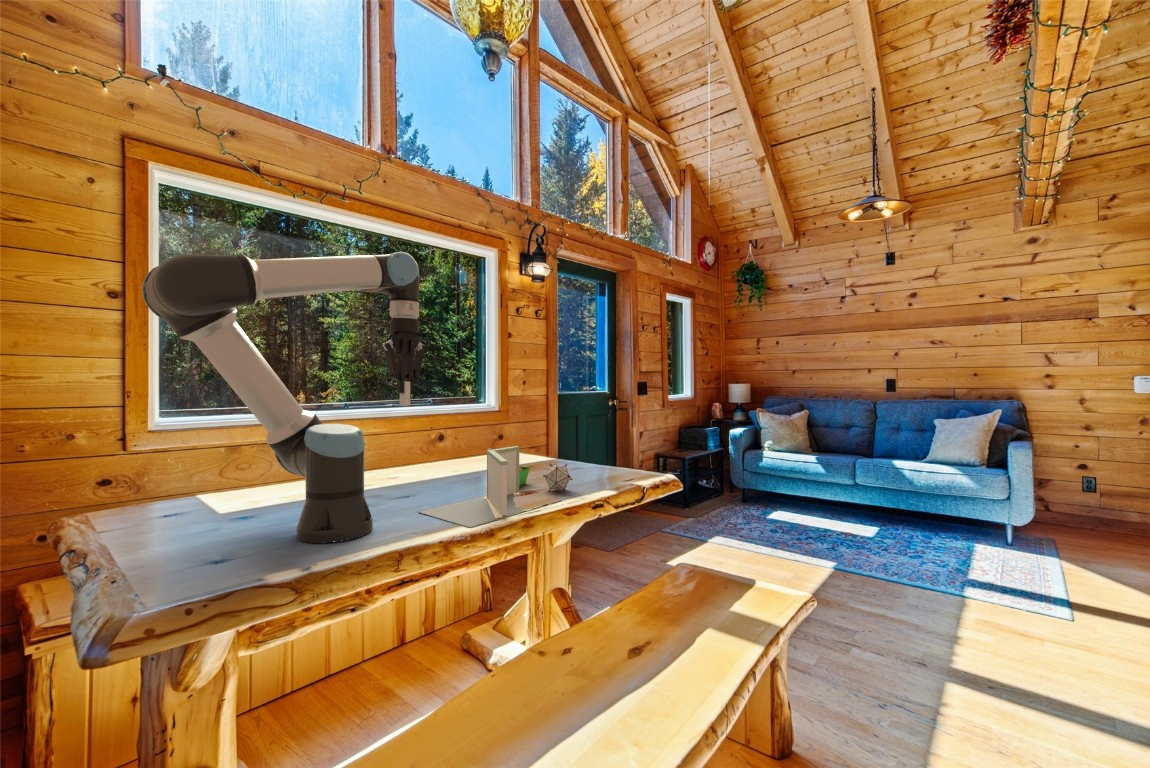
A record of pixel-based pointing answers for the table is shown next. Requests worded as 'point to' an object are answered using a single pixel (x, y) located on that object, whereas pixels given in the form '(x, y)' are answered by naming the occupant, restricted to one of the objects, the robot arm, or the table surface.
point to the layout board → (473, 511)
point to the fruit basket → (523, 474)
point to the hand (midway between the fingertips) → (404, 405)
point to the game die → (557, 477)
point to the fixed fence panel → (511, 467)
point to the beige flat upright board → (497, 480)
